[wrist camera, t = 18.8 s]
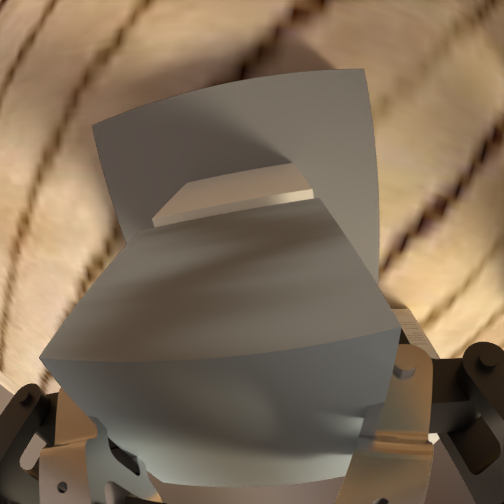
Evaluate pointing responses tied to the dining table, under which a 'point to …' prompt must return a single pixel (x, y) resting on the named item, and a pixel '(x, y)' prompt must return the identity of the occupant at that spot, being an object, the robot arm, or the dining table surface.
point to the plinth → (251, 147)
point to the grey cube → (232, 348)
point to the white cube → (235, 193)
